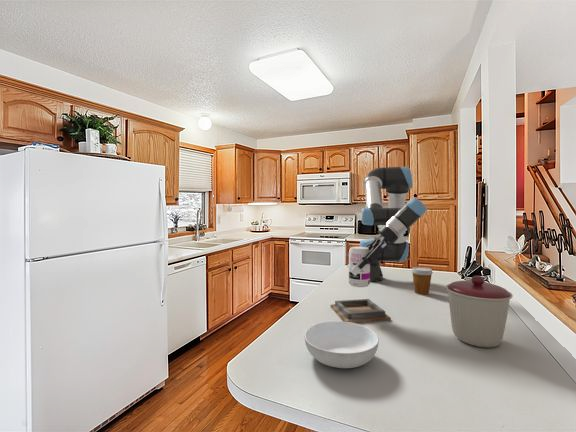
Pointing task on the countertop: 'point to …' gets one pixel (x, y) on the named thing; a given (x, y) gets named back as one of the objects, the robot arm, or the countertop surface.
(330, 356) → the serving bowl
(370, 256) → the robot arm
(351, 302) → the jig plate
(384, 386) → the countertop surface
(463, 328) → the canister
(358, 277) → the supplement can
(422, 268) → the disposable coffee cup
